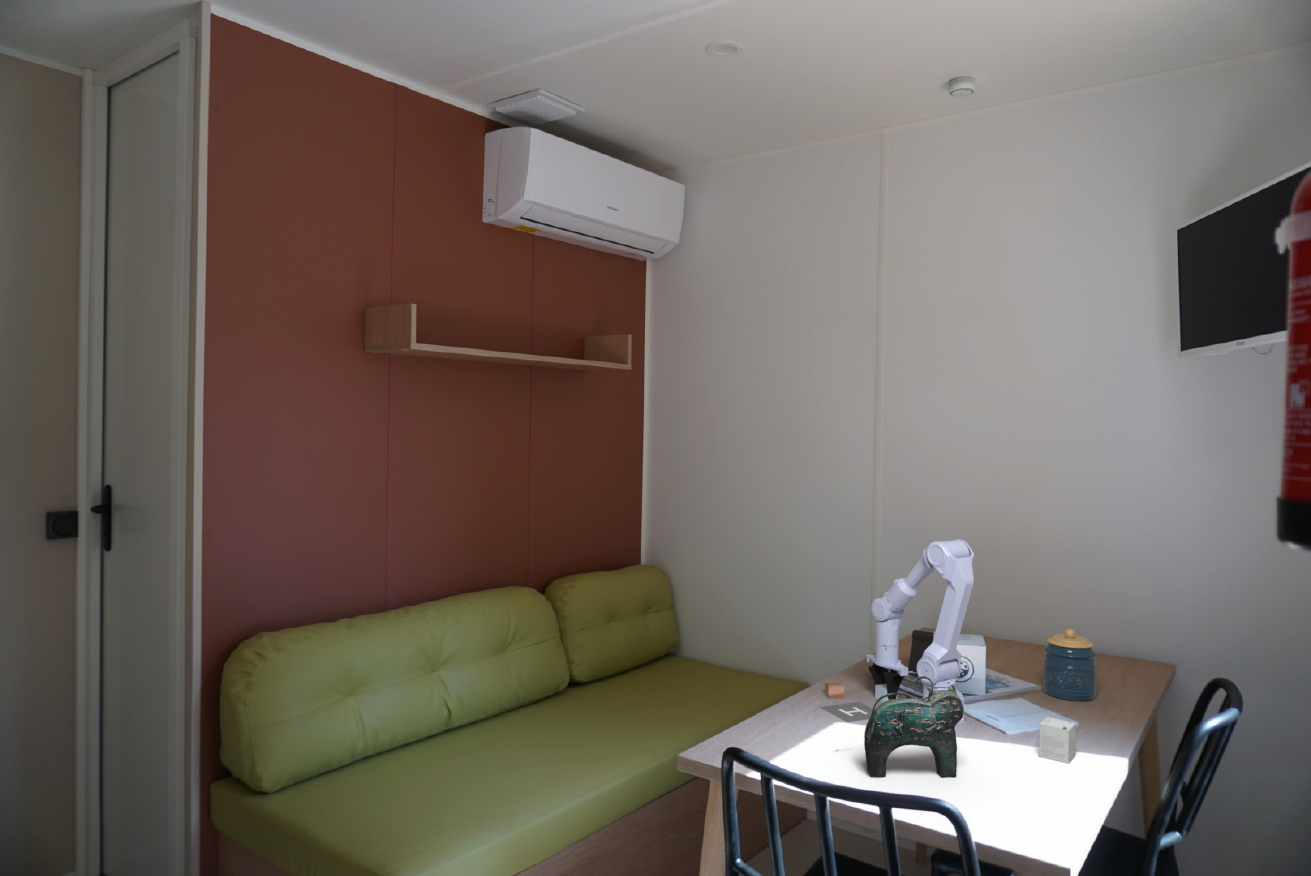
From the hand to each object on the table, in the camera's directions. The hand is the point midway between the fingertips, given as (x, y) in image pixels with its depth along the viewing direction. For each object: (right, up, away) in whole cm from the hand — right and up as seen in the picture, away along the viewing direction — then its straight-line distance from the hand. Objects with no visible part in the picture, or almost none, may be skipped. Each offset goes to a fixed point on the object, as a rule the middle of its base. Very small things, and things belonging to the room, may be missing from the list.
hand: (886, 696), depth 218 cm
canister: (+52, -2, +8) cm, 52 cm away
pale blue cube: (0, -1, 0) cm, 1 cm away
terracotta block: (-13, -1, +2) cm, 13 cm away
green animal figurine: (-7, -2, -47) cm, 48 cm away
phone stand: (+19, -2, +28) cm, 34 cm away
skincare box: (+27, -2, -36) cm, 45 cm away
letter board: (-11, -1, -10) cm, 15 cm away
